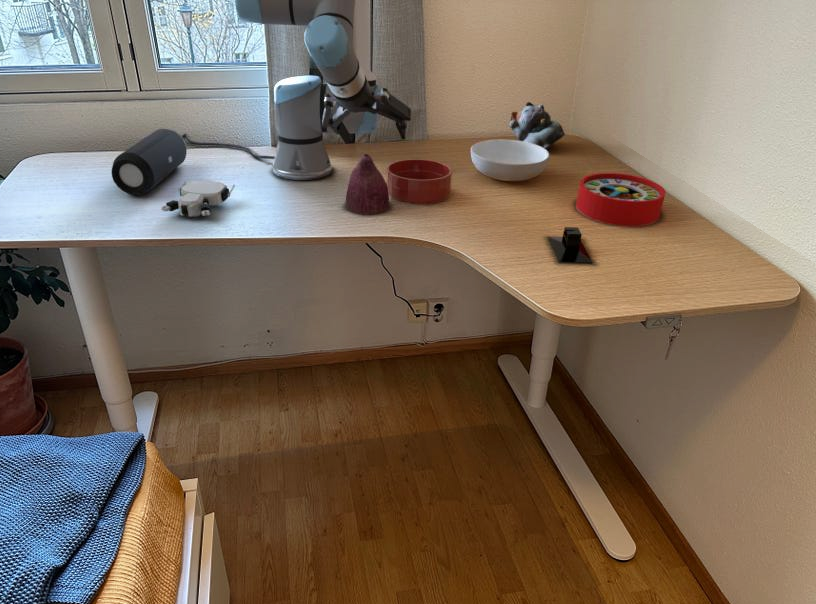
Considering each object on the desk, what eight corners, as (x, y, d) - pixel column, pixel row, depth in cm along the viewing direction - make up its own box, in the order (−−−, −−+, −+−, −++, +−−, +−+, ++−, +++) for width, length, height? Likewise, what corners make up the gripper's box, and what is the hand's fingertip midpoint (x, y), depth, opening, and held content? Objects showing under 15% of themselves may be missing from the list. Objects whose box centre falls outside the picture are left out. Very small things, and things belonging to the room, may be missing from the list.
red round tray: (373, 190, 165) (373, 167, 161) (418, 177, 174) (419, 155, 171) (417, 209, 156) (419, 185, 152) (463, 194, 165) (465, 171, 162)
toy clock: (678, 186, 158) (644, 208, 145) (672, 210, 162) (638, 233, 149) (603, 167, 169) (565, 186, 156) (598, 189, 172) (560, 209, 159)
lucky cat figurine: (534, 155, 194) (518, 109, 189) (513, 160, 205) (496, 117, 200) (573, 135, 198) (557, 89, 193) (549, 140, 209) (534, 97, 204)
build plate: (547, 238, 145) (551, 218, 142) (580, 239, 145) (584, 219, 142) (558, 262, 135) (562, 241, 132) (593, 264, 135) (598, 243, 132)
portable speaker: (153, 199, 155) (145, 157, 149) (112, 196, 155) (102, 154, 149) (192, 165, 176) (186, 127, 170) (156, 163, 176) (149, 124, 170)
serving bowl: (458, 181, 173) (460, 155, 169) (482, 159, 189) (484, 135, 185) (535, 194, 167) (539, 167, 163) (553, 170, 183) (557, 146, 179)
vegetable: (381, 228, 154) (386, 174, 142) (339, 218, 154) (341, 162, 143) (393, 202, 160) (399, 148, 149) (352, 192, 161) (355, 138, 150)
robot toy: (211, 227, 145) (238, 198, 156) (208, 208, 142) (235, 180, 153) (160, 221, 146) (190, 193, 158) (155, 202, 143) (186, 175, 155)
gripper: (288, 105, 134) (323, 155, 154) (407, 93, 128) (427, 147, 149) (290, 71, 135) (325, 125, 155) (408, 59, 130) (428, 116, 150)
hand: (375, 136), depth 152 cm, fingers open, 13 cm apart
